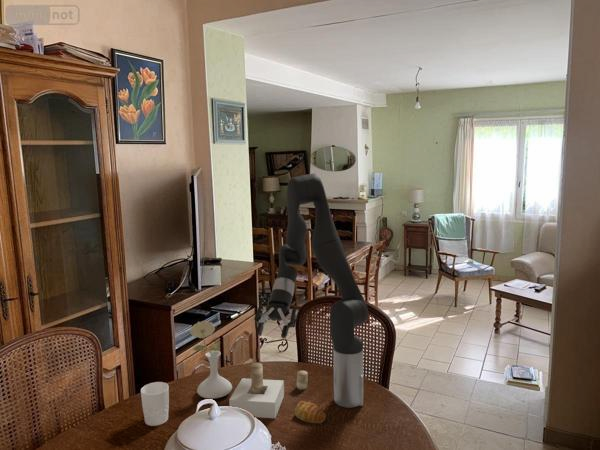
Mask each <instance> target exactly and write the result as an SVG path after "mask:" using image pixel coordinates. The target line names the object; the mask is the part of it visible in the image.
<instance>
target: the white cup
mask: <svg viewBox="0 0 600 450" xmlns="http://www.w3.org/2000/svg"><path fill="white" fill-rule="evenodd" d="M169 391H170V389H169V384H168V383H167V382H163V381H155V382H150V383H148V384H147V383H146V384H145V385H144V386H143V387H141V388H140V395H141V397H140V398H141V404H142V405H141V406H142V412H143V416H144V418H143V419H144V423H145V424H146V425H147V426H151V427H157V426H160V425H163V424H164V423H166V422H167V421H168V420H169V410H170V407H169V406H170V392H169Z"/></svg>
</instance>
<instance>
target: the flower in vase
mask: <svg viewBox="0 0 600 450" xmlns="http://www.w3.org/2000/svg"><path fill="white" fill-rule="evenodd" d="M214 331H216V328H215V326H214V323H213V322H212V321H211V322H209V321H208V320H205V321H204V320H202V321H197V322H196V323H195V324H193V325H192V327H191V328H190V330H189V332H190V335H191V336H192V337H193V338H196V339H197V338H199V339H203V345H202V344H198V345H196V346H195V347H193V348H192V351H203V350H205V348H206V350H207V351H208V352H205V354H204V355H205V357H206V358H207V360H208V362H209V367H210V372H209V376H208V377H207V378H206V379H204V380H203V381H202V382H200V384H199V385H198V387H197V390H196V392H197V395H198V396H199V397H202V398H204V399H213V400H214V399H219V398H223V397H225V396H227V395H228V394H230V393H231V392H232V390H233V385H232V383H231V382H230V381H229V380H228V379H226V378H224V377H223V376H221V375H219V371H218V361H219V358H220V356H221V354H222V353H221V351H219V350H217V349H218V348H219V346H220V344H221V341H219V342H217V343H214V344H212V346H211V347H210V348H208V347H207V345H206V342H205V341H206V340H205V338H207V337H209V336H211V335H213V333H214Z"/></svg>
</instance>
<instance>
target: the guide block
mask: <svg viewBox="0 0 600 450" xmlns="http://www.w3.org/2000/svg"><path fill="white" fill-rule="evenodd" d="M284 396H285V381H284V380H283V379H282V380H280V379H277V380H276V379H264V378H263V394H252V385H251V378H245V377H244V378H241V380H240V381H239V383H238V385H237V386H236V388H235V390H234V391H233V392H232V394H231V396H230V398H229V399H228V400H229V401H228V402H229V405H228V407H229V406H232V407H239V408H242V409H245V410H248V411H249V412H251V413H252V414H253V415H254V416H255V417H254V418H262V419H263V418H264V419H267V418H268V419H276V417H277V415H278V412H279V410H280V407H281V404H282V402H283V399H284Z"/></svg>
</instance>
